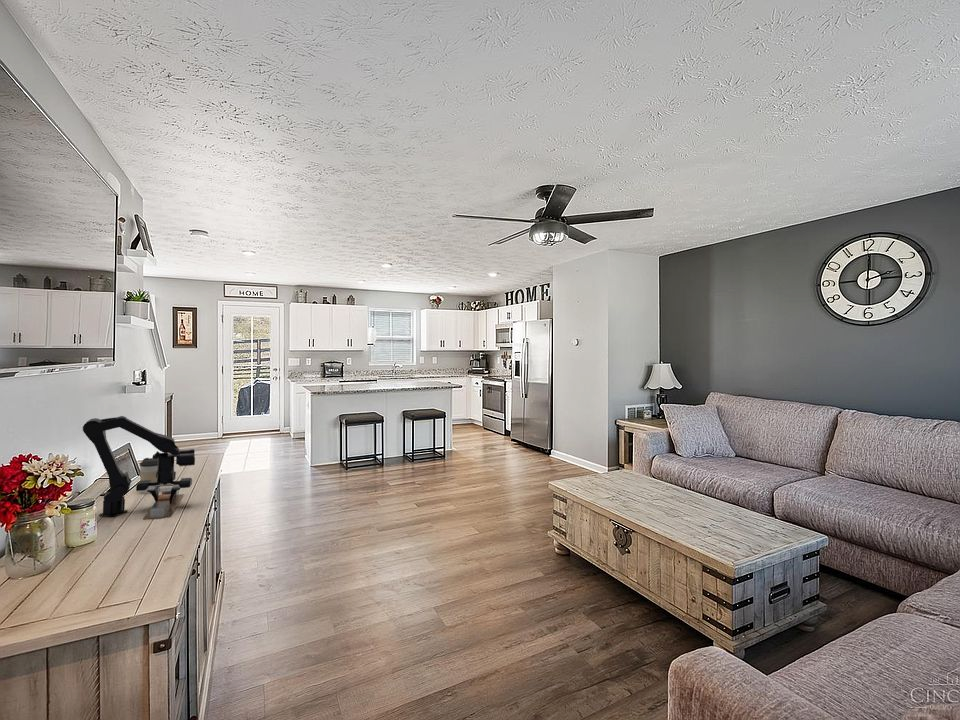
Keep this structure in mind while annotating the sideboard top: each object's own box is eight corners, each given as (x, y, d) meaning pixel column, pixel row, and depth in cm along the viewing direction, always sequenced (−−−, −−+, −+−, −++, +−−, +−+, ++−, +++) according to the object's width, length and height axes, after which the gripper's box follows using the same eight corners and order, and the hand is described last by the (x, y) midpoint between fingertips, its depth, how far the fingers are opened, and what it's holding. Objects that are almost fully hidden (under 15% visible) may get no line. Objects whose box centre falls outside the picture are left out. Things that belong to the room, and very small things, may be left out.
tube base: (170, 517, 180) (171, 506, 180) (143, 519, 177) (143, 508, 177) (183, 495, 206) (184, 486, 206) (160, 496, 202) (160, 487, 202)
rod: (164, 513, 181) (164, 503, 181) (152, 514, 180) (152, 503, 180) (172, 500, 196) (173, 490, 196) (161, 501, 194) (162, 491, 194)
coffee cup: (167, 488, 213) (168, 457, 213) (151, 494, 204) (152, 461, 204) (149, 487, 214) (150, 455, 214) (133, 493, 205) (134, 460, 205)
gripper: (195, 461, 201) (193, 496, 201) (144, 463, 193) (142, 500, 193) (190, 468, 191) (189, 504, 191) (136, 470, 183) (135, 508, 183)
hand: (164, 504), depth 190 cm, fingers closed on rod, 4 cm apart
